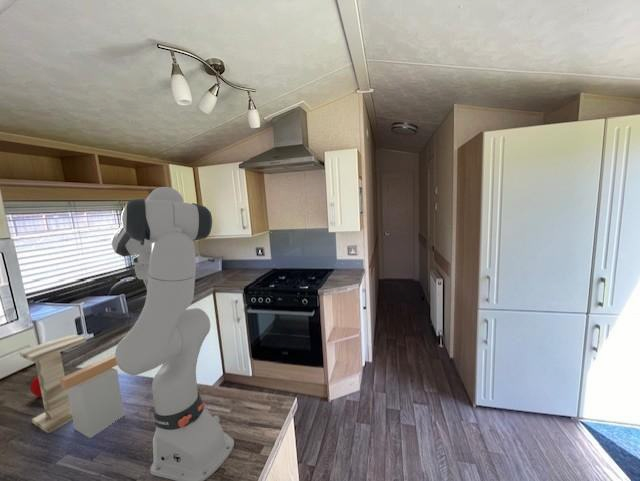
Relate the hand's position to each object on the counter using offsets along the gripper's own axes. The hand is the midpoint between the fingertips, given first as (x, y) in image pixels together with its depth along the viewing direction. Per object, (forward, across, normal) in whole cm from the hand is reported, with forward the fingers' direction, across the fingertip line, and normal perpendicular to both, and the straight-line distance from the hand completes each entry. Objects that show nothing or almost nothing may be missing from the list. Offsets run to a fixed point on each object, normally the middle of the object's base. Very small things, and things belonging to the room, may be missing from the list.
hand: (156, 290), depth 116 cm
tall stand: (+37, +11, +31) cm, 50 cm away
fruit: (+37, +34, +28) cm, 58 cm away
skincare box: (+37, +61, +18) cm, 74 cm away
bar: (+20, -6, +26) cm, 33 cm away
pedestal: (+37, -6, +28) cm, 47 cm away
